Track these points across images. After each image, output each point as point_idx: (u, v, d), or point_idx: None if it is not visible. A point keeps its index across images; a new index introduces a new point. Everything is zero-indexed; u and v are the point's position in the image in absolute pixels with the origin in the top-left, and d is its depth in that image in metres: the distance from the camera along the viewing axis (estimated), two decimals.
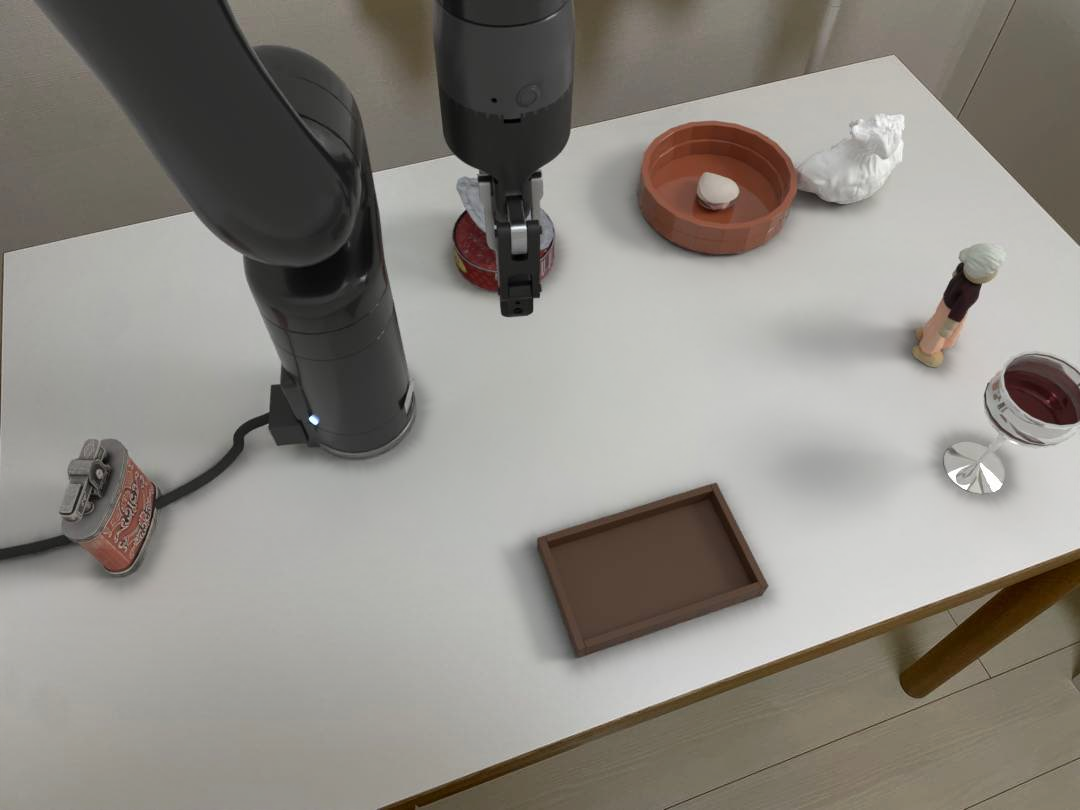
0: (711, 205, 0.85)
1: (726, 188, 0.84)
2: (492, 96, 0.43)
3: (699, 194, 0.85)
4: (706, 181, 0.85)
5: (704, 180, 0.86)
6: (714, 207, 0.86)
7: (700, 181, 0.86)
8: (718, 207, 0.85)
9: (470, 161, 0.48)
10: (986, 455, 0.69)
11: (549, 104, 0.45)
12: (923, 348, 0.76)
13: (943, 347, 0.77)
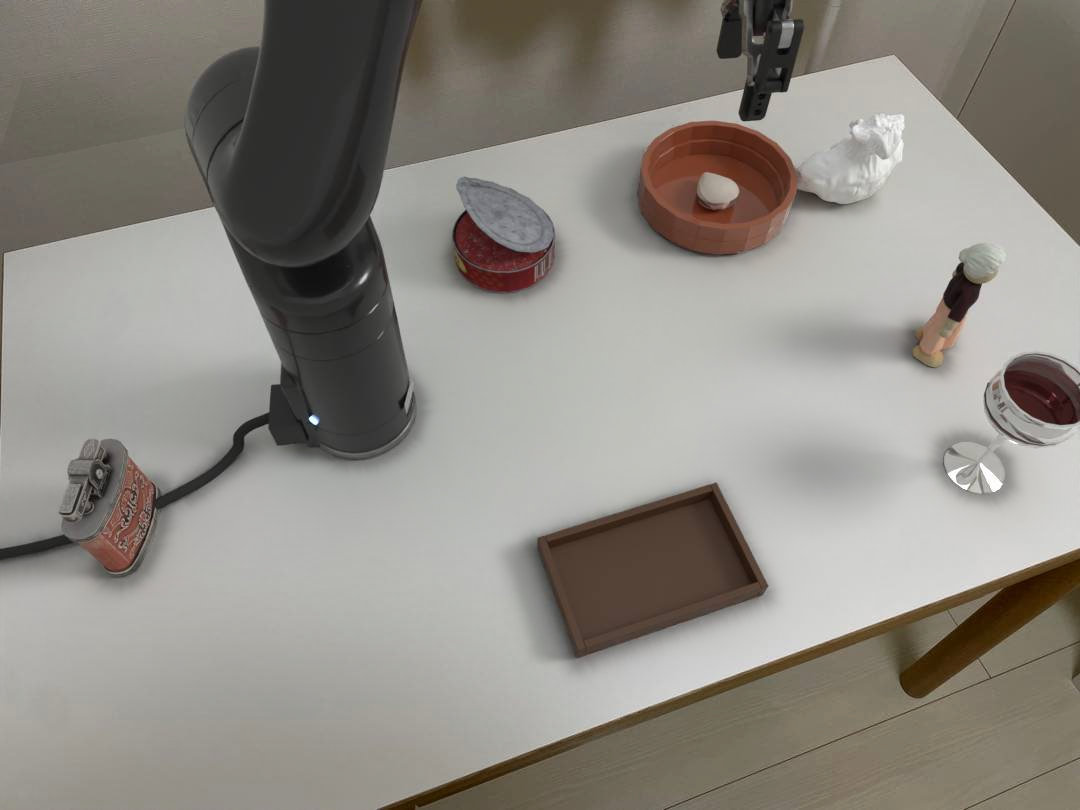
0: (711, 205, 0.85)
1: (726, 188, 0.84)
2: None
3: (699, 194, 0.85)
4: (706, 181, 0.85)
5: (704, 180, 0.86)
6: (714, 207, 0.86)
7: (700, 181, 0.86)
8: (718, 207, 0.85)
9: None
10: (986, 455, 0.69)
11: None
12: (923, 348, 0.76)
13: (943, 347, 0.77)
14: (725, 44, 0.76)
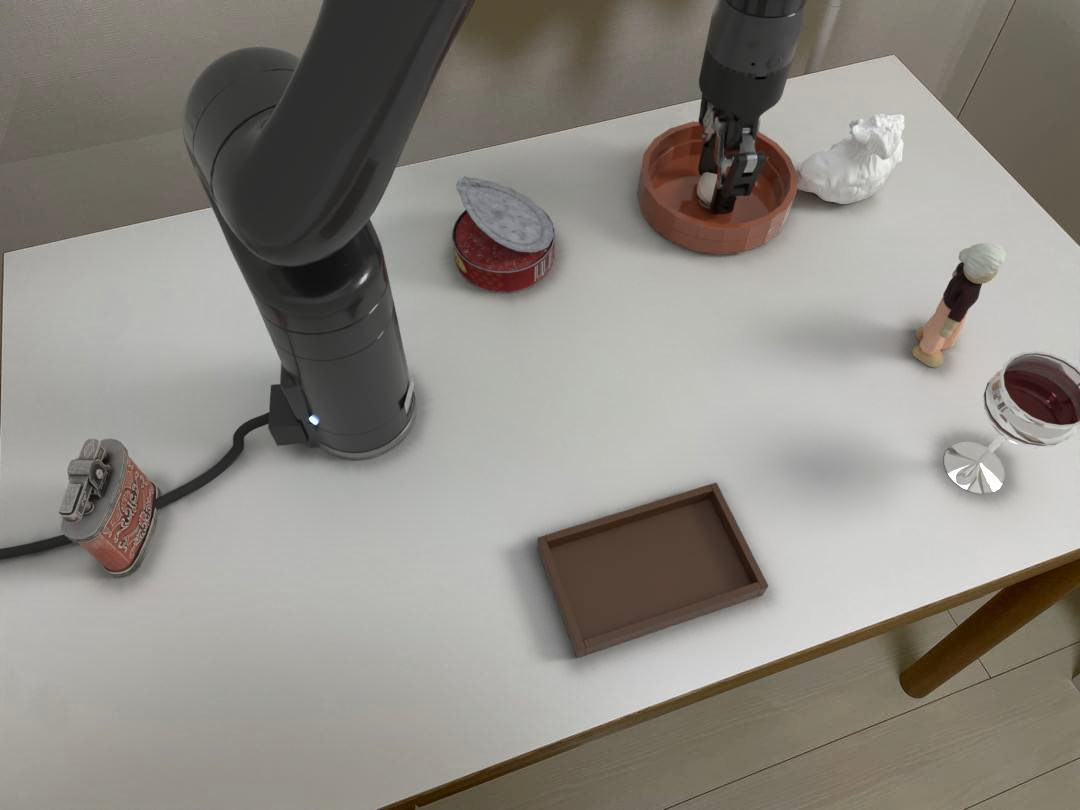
0: None
1: None
2: (752, 61, 0.69)
3: (699, 194, 0.85)
4: (706, 181, 0.85)
5: (704, 180, 0.86)
6: None
7: (700, 181, 0.86)
8: None
9: (723, 106, 0.74)
10: (986, 455, 0.69)
11: (783, 67, 0.71)
12: (923, 348, 0.76)
13: (943, 347, 0.77)
14: (705, 164, 0.86)
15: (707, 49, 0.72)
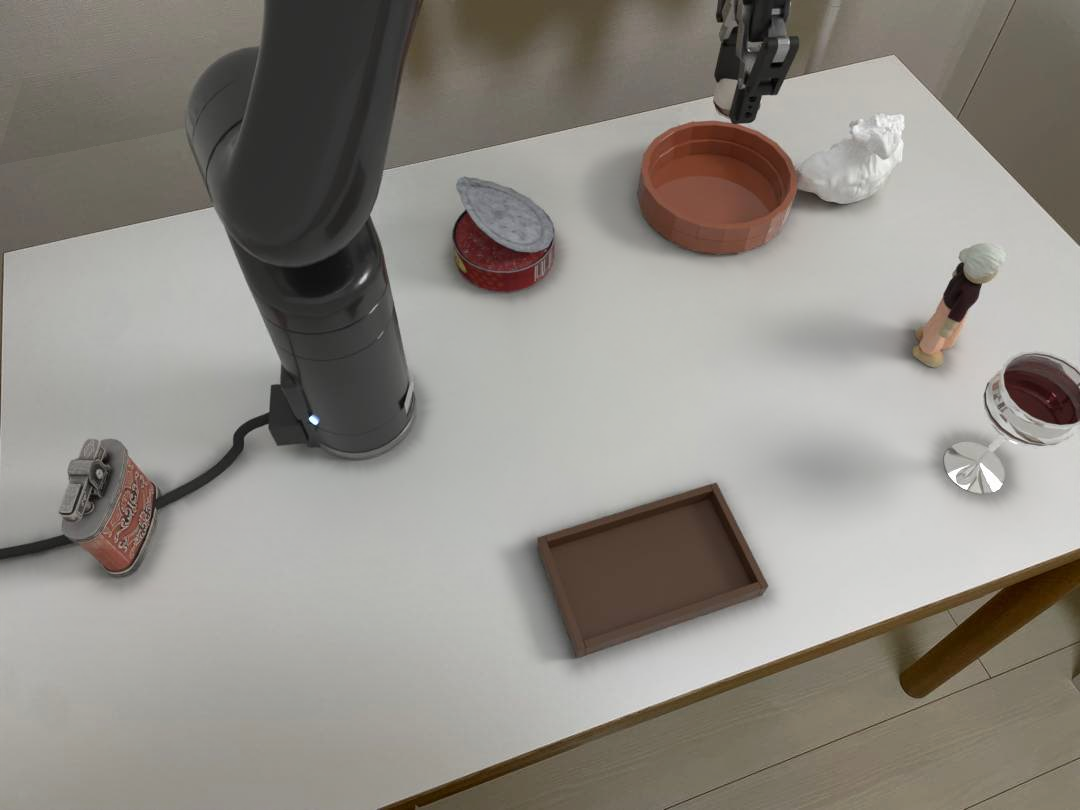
0: None
1: None
2: None
3: (717, 101, 0.74)
4: (724, 86, 0.74)
5: (722, 86, 0.75)
6: None
7: (717, 87, 0.75)
8: None
9: None
10: (986, 455, 0.69)
11: None
12: (923, 348, 0.76)
13: (943, 347, 0.77)
14: (723, 69, 0.75)
15: None
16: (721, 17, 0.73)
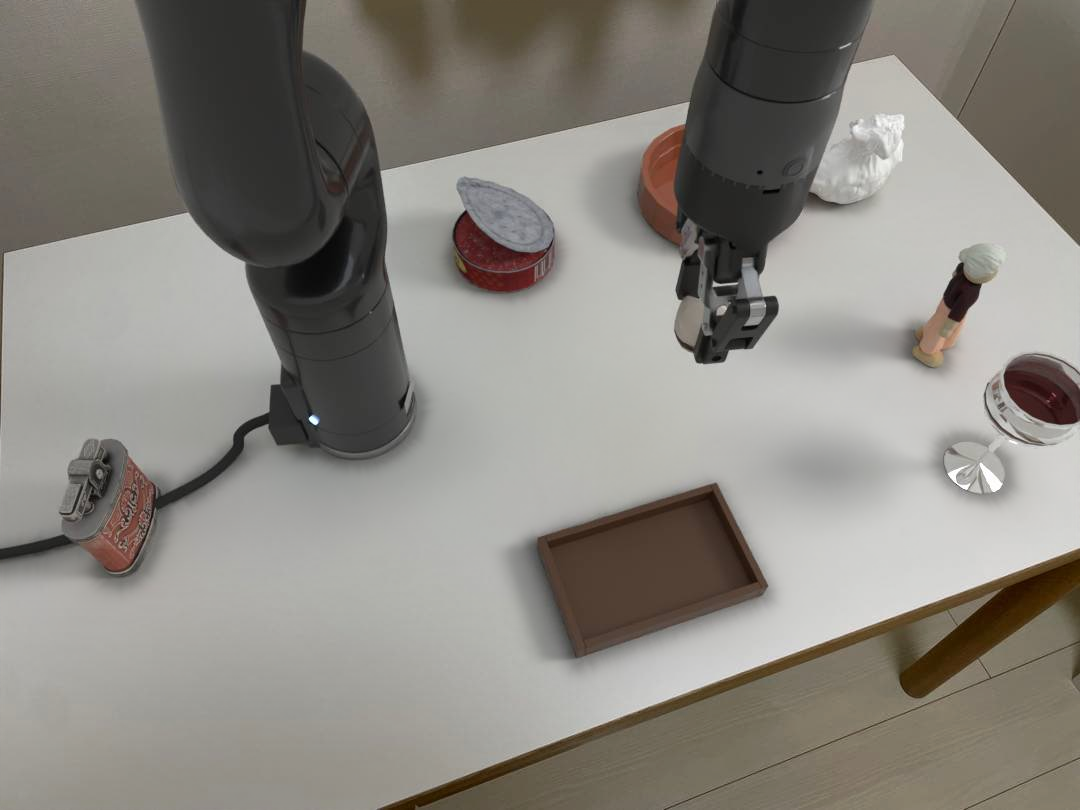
0: None
1: None
2: (759, 168, 0.43)
3: (678, 332, 0.58)
4: (688, 313, 0.59)
5: (685, 310, 0.59)
6: None
7: (679, 311, 0.59)
8: None
9: (711, 228, 0.47)
10: (986, 455, 0.69)
11: (808, 174, 0.44)
12: (923, 348, 0.76)
13: (943, 347, 0.77)
14: (685, 287, 0.60)
15: (686, 142, 0.45)
16: (681, 229, 0.57)
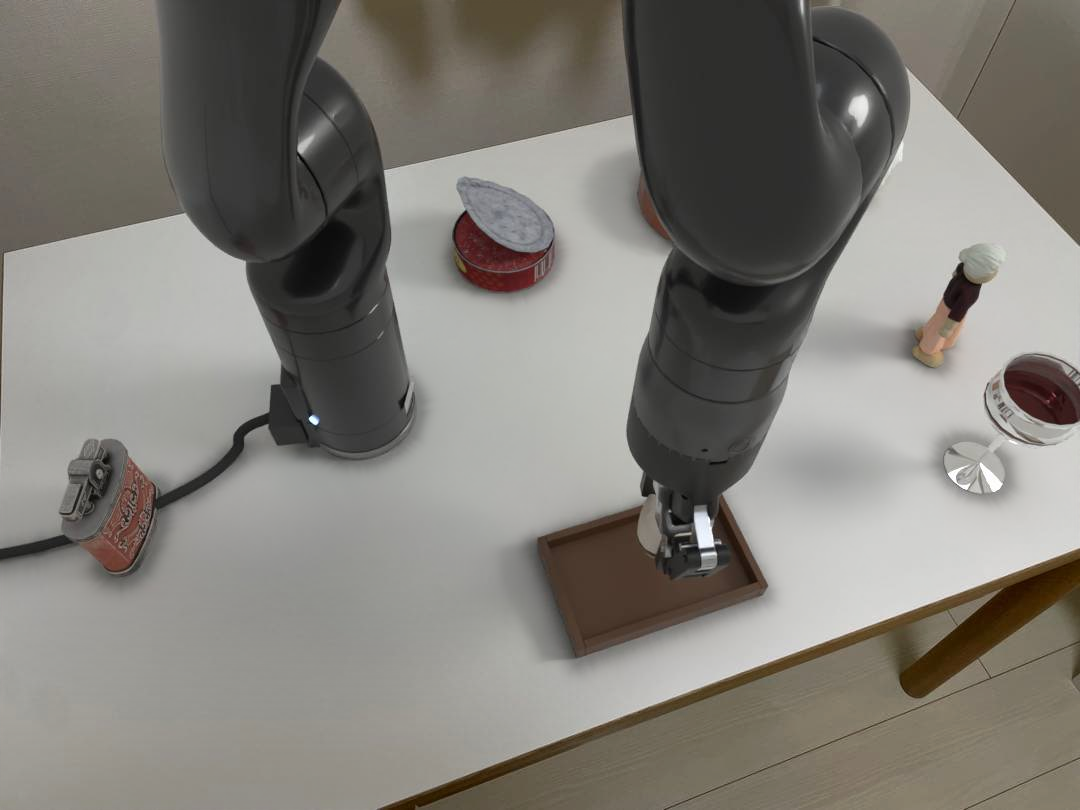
0: None
1: None
2: (704, 447, 0.42)
3: (640, 538, 0.58)
4: (651, 517, 0.58)
5: (648, 514, 0.58)
6: None
7: (643, 513, 0.59)
8: None
9: (661, 482, 0.46)
10: (986, 455, 0.69)
11: (756, 444, 0.43)
12: (923, 348, 0.76)
13: (943, 347, 0.77)
14: (649, 487, 0.59)
15: (634, 404, 0.45)
16: None
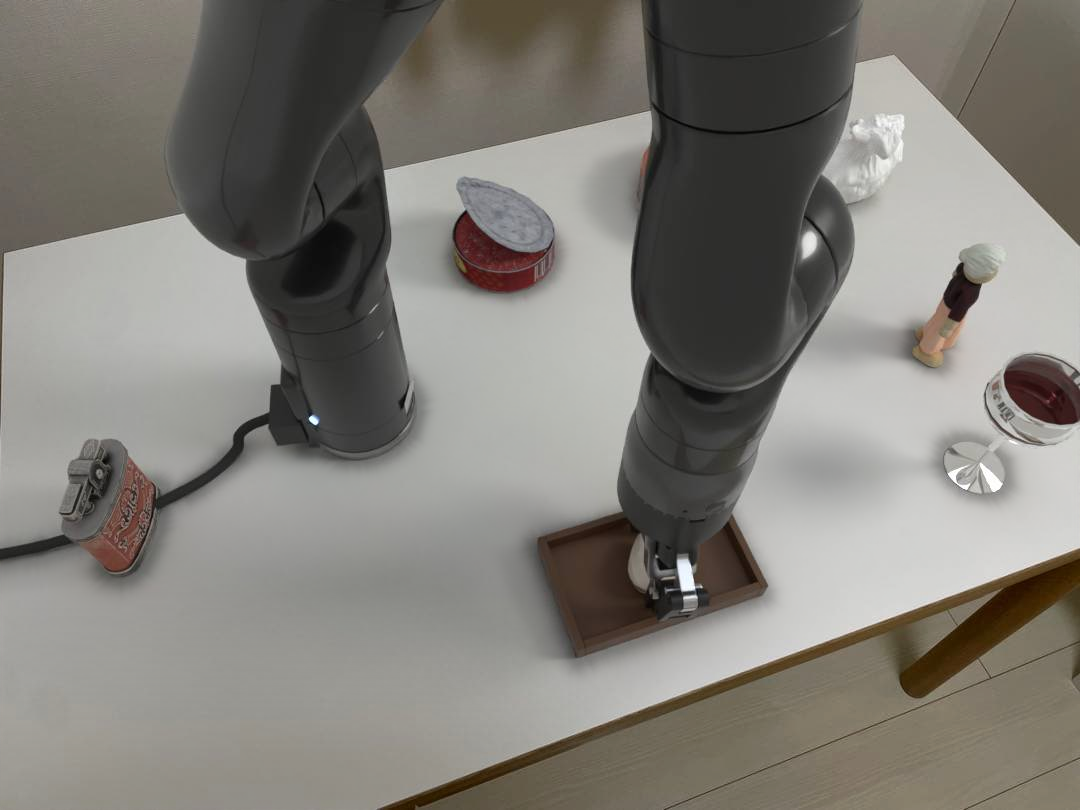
0: None
1: None
2: (684, 509, 0.48)
3: (631, 574, 0.63)
4: (640, 556, 0.64)
5: (638, 552, 0.64)
6: None
7: (633, 552, 0.64)
8: None
9: (648, 534, 0.52)
10: (986, 455, 0.69)
11: (730, 504, 0.49)
12: (923, 348, 0.76)
13: (943, 347, 0.77)
14: None
15: (623, 467, 0.51)
16: None
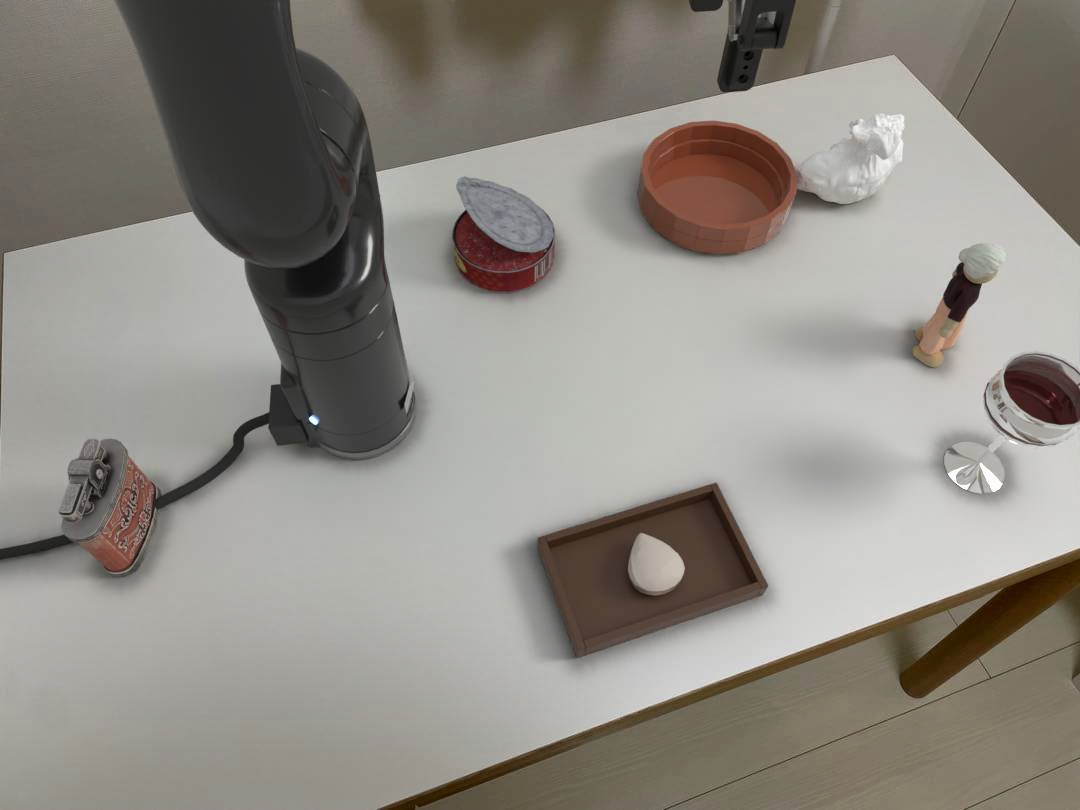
0: None
1: (666, 570, 0.63)
2: None
3: (631, 574, 0.63)
4: (640, 556, 0.64)
5: (638, 552, 0.64)
6: None
7: (633, 552, 0.64)
8: None
9: None
10: (986, 455, 0.69)
11: None
12: (923, 348, 0.76)
13: (943, 347, 0.77)
14: None
15: None
16: None
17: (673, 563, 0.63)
